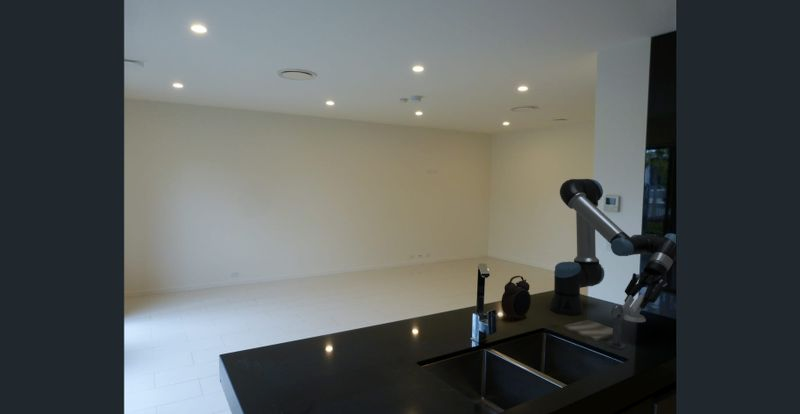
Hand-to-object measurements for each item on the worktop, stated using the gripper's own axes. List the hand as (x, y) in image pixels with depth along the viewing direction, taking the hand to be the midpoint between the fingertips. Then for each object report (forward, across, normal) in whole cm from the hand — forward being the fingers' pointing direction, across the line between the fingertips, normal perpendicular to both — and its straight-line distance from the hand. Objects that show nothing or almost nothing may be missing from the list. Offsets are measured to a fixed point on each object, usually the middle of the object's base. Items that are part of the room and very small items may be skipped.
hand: (629, 311), depth 160 cm
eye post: (+14, 0, -4) cm, 14 cm away
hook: (0, 0, -5) cm, 5 cm away
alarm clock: (+24, +41, +5) cm, 47 cm away
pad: (+11, +15, -7) cm, 20 cm away
